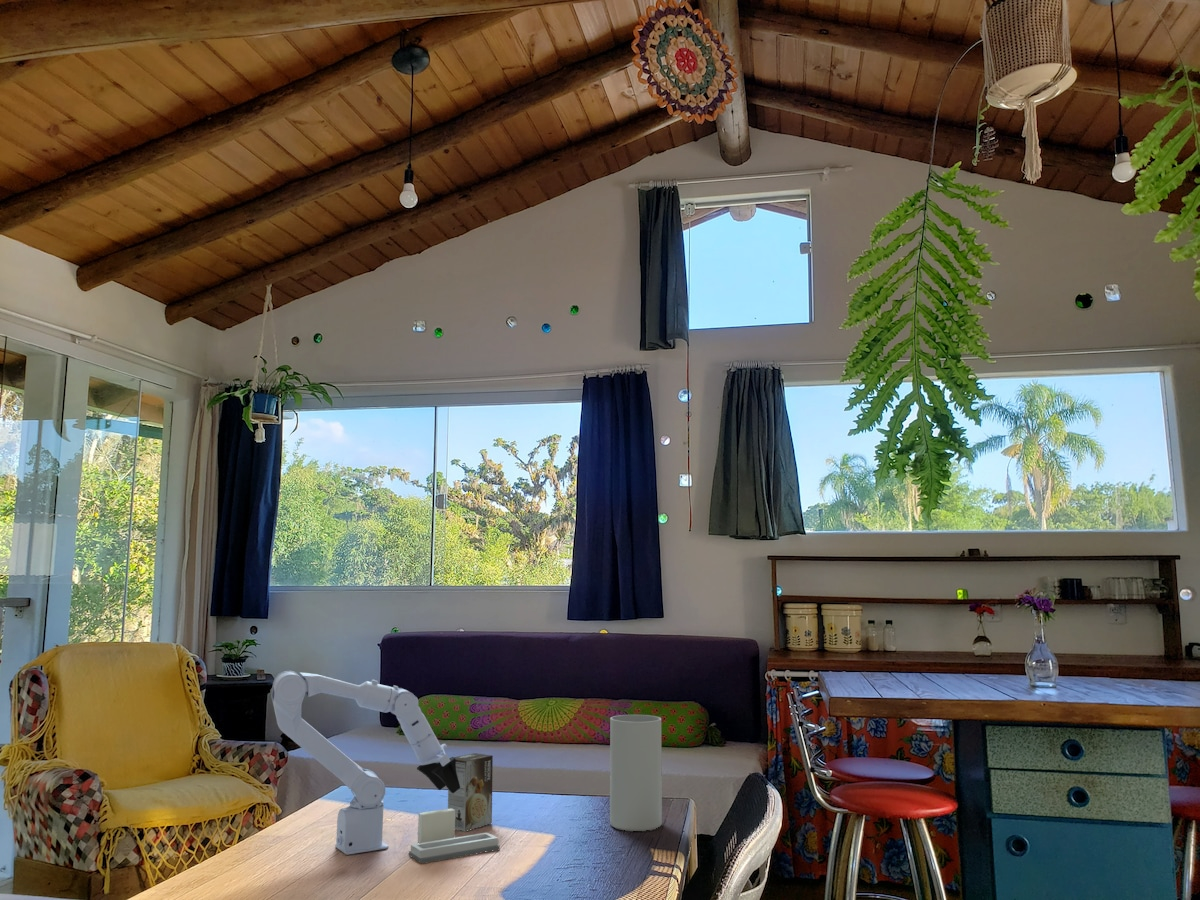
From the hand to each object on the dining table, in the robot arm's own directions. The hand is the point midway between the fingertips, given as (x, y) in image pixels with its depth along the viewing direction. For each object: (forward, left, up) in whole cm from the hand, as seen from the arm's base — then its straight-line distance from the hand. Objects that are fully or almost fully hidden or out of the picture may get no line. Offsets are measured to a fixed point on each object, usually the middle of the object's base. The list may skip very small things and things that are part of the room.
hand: (449, 788), depth 204 cm
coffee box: (+9, +7, -11) cm, 16 cm away
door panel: (-3, -1, -11) cm, 11 cm away
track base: (-3, -11, -11) cm, 16 cm away
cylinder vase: (+43, -14, -11) cm, 46 cm away
